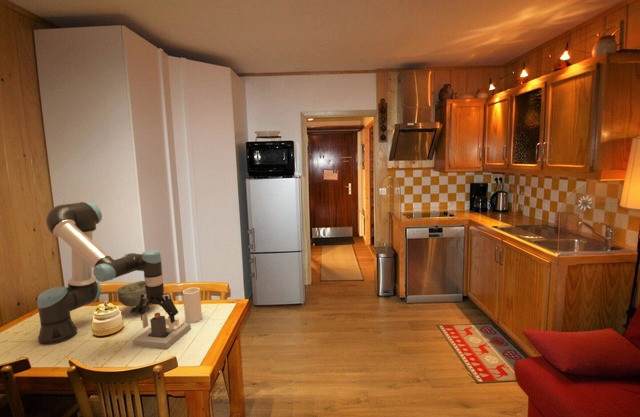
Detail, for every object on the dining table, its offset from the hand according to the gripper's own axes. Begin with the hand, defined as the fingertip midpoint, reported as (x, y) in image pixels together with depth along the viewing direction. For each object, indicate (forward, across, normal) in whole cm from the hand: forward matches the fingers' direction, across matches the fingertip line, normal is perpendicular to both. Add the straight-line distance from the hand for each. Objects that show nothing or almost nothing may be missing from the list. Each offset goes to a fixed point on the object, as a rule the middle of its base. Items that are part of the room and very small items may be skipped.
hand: (158, 328), depth 164 cm
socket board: (+6, 0, +3) cm, 6 cm away
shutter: (+3, 0, +7) cm, 8 cm away
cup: (+6, +4, +22) cm, 23 cm away
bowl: (+6, -33, +27) cm, 43 cm away
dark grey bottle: (+6, 0, 0) cm, 6 cm away
